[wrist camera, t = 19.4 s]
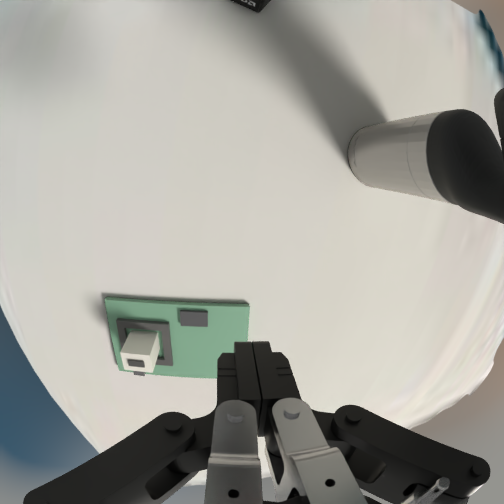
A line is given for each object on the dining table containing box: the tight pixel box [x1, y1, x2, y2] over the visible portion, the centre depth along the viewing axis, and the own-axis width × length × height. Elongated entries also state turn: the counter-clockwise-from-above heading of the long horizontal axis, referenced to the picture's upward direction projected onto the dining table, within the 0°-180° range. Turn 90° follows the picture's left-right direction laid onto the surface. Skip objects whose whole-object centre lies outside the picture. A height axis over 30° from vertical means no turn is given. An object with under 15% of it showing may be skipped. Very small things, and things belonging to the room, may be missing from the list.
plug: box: [120, 330, 160, 376], centre depth 37 cm, size 4×4×6 cm
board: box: [105, 297, 250, 378], centre depth 41 cm, size 22×14×2 cm, turn 86°
